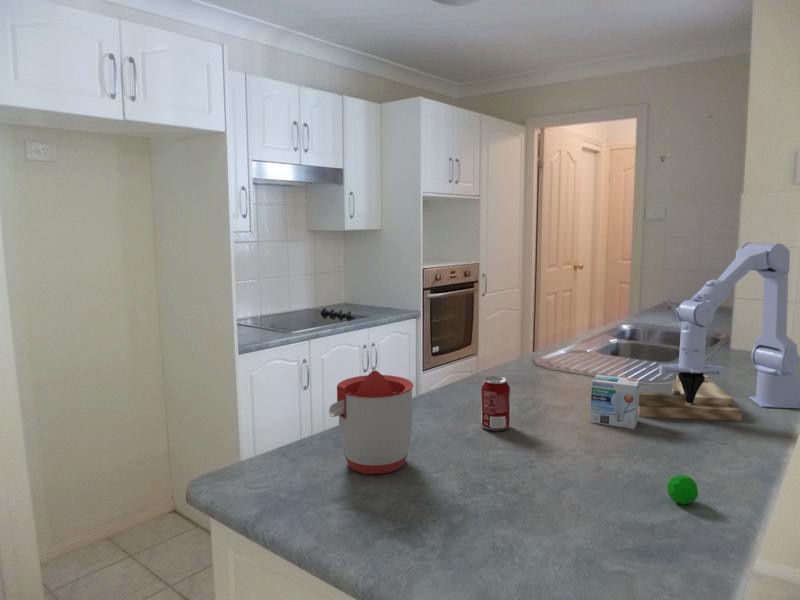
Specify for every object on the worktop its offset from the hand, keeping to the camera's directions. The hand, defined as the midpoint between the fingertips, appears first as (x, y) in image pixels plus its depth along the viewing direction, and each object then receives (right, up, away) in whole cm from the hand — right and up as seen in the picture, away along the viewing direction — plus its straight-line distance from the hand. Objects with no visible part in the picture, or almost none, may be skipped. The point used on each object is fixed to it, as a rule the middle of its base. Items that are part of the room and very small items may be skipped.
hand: (689, 401), depth 147 cm
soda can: (-50, -6, -5) cm, 50 cm away
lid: (+8, +1, +9) cm, 12 cm away
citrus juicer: (-78, -9, -25) cm, 83 cm away
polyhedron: (-23, -11, -43) cm, 50 cm away
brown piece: (+1, -3, +9) cm, 9 cm away
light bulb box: (-20, -5, -2) cm, 20 cm away
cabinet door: (-7, -1, +1) cm, 7 cm away
